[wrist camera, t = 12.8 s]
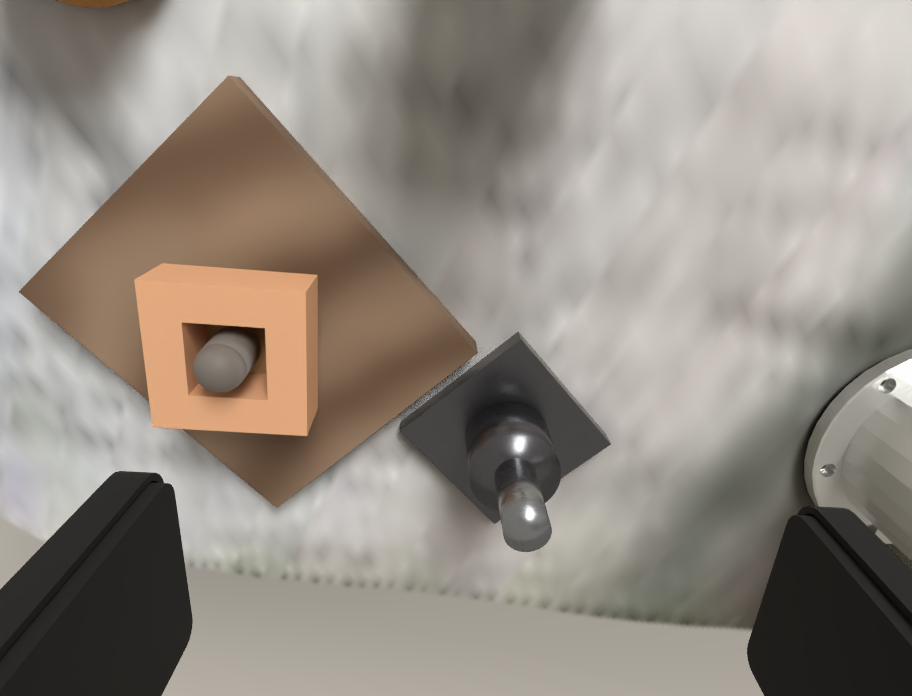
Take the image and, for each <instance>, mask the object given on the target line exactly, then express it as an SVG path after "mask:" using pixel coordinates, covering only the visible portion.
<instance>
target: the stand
mask: <svg viewBox="0 0 912 696" xmlns="http://www.w3.org/2000/svg"><path fill="white" fill-rule="evenodd" d="M400 431H401V432H402V433H403V434H404V435H405V436H406V437H407V438H408V439H409V440H410V441H411V442H412V443H413V444H414V445H415V446H416V447H417V448H418V449H419V450H420V451H421V452H422V453H423V454H424V455H425V456H426V457H427V458H428V459H429V460H430V461H431V462H432V463H433V464H434V465H435V466H436V467H437V468H438V469H439V470H440V471H441V472H442V473H443V474H444V475H445V476H446V477H447V478H448V479H449V480H450V481H451V482H452V483H453V484H455V485H456V486H457V487H458V488H459V489H460V490H461V491H462V492H463V493H464V494H465V495H466V496H467V497H468V498H469V499H470V500H471V501H472V502H473V503H474V504H475V505H476V506H477V507H478V508H479V509H480V510H481V511H482V512H483V513H484V514H485V515H486V516H487V517H488V518H489V519H490V520H491V521H492V522H493V523H494V524H495V523H496V522H498V521H499V520H501V523H502V529H503V535H504V539H505V542H506V543H507V544H508V545H509V546H510V547H511V548H513V549H515V550H517V551H521V552H530V551H535V550H537V549H540V548H541V547H543V546H544V545H545V544H546V543H547V542H548V541H549V539H550V537H551V533H552V528H551V524H550V521H549V517H548V514H547V510H546V506H545V503H546V502H547V501H548V500H549V499H550V498H551V497H552V496H553V494H554V493H555V492H556V490H557V488H558V486H559V483H560V479H561V478H562V477H564V476H565V475H566V474H568V473H569V472H571V471H572V470H574V469H575V468H577V467H578V466H580V465H581V464H583V463H584V462H585V461H587V460H588V459H590V458H591V457H593V456H594V455H596V454H597V453H599V452H600V451H602V450H603V449H604V448H606V447H607V446H609V445H610V444H611V443H610V441H609V439H608V437H607V436H606V434H605V433H604V432H603V430H602V429H601V428H600V427H599V426H598V425H597V423H596V422H595V421H594V420H593V419H592V418H591V416H590V415H589V414H588V413H587V412H586V410H585V409H584V408H583V407H582V406H581V405H580V403H579V402H578V401H577V400H576V399H575V398H574V396H573V395H572V394H571V393H570V392H569V391H568V389H567V388H566V387H565V386H564V385H563V384H562V382H561V381H560V380H559V379H558V378H557V376H556V375H555V374H554V373H553V372H552V371H551V369H550V368H549V367H548V366H547V365H546V364H545V362H544V361H543V360H542V359H541V358H540V357H539V355H538V354H537V353H536V352H535V351H534V350H533V348H532V347H531V346H530V345H529V344H528V343H527V341H526V340H525V339H524V338H523V337H522V335H521V334H520V333H519V332H517V333H516V334H515V335H513V336H512V337H511V338H509V339H508V340H507V341H506V342H504V343H503V344H502V345H500V346H499V347H498V348H496V349H495V350H494V351H493V352H491V353H490V354H489V355H487V356H486V357H485V358H483V359H482V360H481V361H479V362H478V363H477V364H476V365H474V366H473V367H472V368H470V369H469V370H468V371H466V372H465V373H464V374H463V375H461V376H460V377H459V378H457V379H456V380H455V381H453V382H452V383H451V384H450V385H448V386H447V387H446V388H444V389H443V390H442V391H440V392H439V393H438V394H436V395H435V396H434V397H433V398H431V399H430V400H429V401H427V402H426V403H425V404H423V405H422V406H421V407H420V408H418V409H417V410H416V411H414V412H413V413H412V414H410V415H409V416H408V417H407V418H405V419H404V420H403V421H401V428H400Z"/></svg>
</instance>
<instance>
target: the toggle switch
mask: <svg viewBox="0 0 912 696" xmlns="http://www.w3.org/2000/svg"><path fill="white" fill-rule="evenodd" d="M162 263H166V264H180V265H193V266H206V267H220V268H233V269H246V270H260V271H273V272H286V273H300V274H313V275H318V409H317V412H316V414H315V417H314V419H313V422H312V425H311V427H310V430H309V433H308V435H307V436H297V435H279V434H262V433H244V432H227V431H210V430H192V429H183V430H184V431H186V432H187V433H188V434H189V435H190V436H192V437H193V438H194V439H195V440H196V441H198V442H199V443H200V444H201V445H202V446H204V447H205V448H206V449H207V450H208V451H209V452H211V453H212V454H213V455H214V456H215V457H217V458H218V459H219V460H220V461H221V462H223V463H224V464H225V465H226V466H227V467H229V468H230V469H231V470H232V471H233V472H235V473H236V474H237V475H238V476H239V477H241V478H242V479H243V480H244V481H245V482H247V483H248V484H249V485H250V486H251V487H252V488H254V489H255V490H256V491H257V492H258V493H260V494H261V495H262V496H263V497H264V498H266V499H267V500H268V501H269V502H270V503H272V504H273V505H274V506H275V507H276V508H277V507H279V506H280V505H281V504H283V503H284V502H285V501H287V500H288V499H289V498H290V497H292V496H293V495H294V494H296V493H297V492H298V491H299V490H301V489H302V488H303V487H305V486H306V485H307V484H309V483H310V482H311V481H312V480H314V479H315V478H316V477H318V476H319V475H320V474H322V473H323V472H324V471H325V470H327V469H328V468H329V467H331V466H332V465H333V464H334V463H336V462H337V461H338V460H340V459H341V458H342V457H344V456H345V455H346V454H347V453H349V452H350V451H351V450H353V449H354V448H355V447H356V446H358V445H359V444H360V443H362V442H363V441H364V440H366V439H367V438H368V437H369V436H371V435H372V434H373V433H375V432H376V431H377V430H379V429H380V428H381V427H382V426H384V425H385V424H386V423H388V422H389V421H390V420H391V419H393V418H394V417H395V416H397V415H398V414H399V413H401V412H402V411H403V410H404V409H406V408H407V407H408V406H410V405H411V404H412V403H413V402H415V401H416V400H417V399H419V398H420V397H421V396H423V395H424V394H425V393H426V392H428V391H429V390H430V389H432V388H433V387H434V386H435V385H437V384H438V383H439V382H441V381H442V380H443V379H445V378H446V377H447V376H448V375H450V374H451V373H452V372H454V371H455V370H456V369H458V368H459V367H460V366H461V365H463V364H464V363H465V362H467V361H468V360H469V359H470V358H472V357H473V356H474V355H476V354H477V353H478V352H477V347H476V341H475V340H474V339H473V338H472V337H471V336H470V335H469V334H468V332H467V331H466V330H465V329H464V328H463V327H462V326H461V325H460V324H459V322H458V321H457V320H456V319H455V318H454V317H453V316H452V315H451V313H450V312H449V311H448V310H447V309H446V308H445V307H444V306H443V304H442V303H441V302H440V301H439V300H438V299H437V298H436V297H435V295H434V294H433V293H432V292H431V291H430V290H429V289H428V288H427V287H426V285H425V284H424V283H423V282H422V281H421V280H420V279H419V278H418V276H417V275H416V274H415V273H414V272H413V271H412V270H411V269H410V267H409V266H408V265H407V264H406V263H405V262H404V261H403V260H402V258H401V257H400V256H399V255H398V254H397V253H396V252H395V251H394V250H393V248H392V247H391V246H390V245H389V244H388V243H387V242H386V241H385V239H384V238H383V237H382V236H381V235H380V234H379V233H378V232H377V230H376V229H375V228H374V227H373V226H372V225H371V224H370V223H369V221H368V220H367V219H366V218H365V217H364V216H363V215H362V214H361V213H360V211H359V210H358V209H357V208H356V207H355V206H354V205H353V204H352V202H351V201H350V200H349V199H348V198H347V197H346V196H345V195H344V193H343V192H342V191H341V190H340V189H339V188H338V187H337V186H336V184H335V183H334V182H333V181H332V180H331V179H330V178H329V177H328V176H327V174H326V173H325V172H324V171H323V170H322V169H321V168H320V167H319V165H318V164H317V163H316V162H315V161H314V160H313V159H312V158H311V156H310V155H309V154H308V153H307V152H306V151H305V150H304V149H303V147H302V146H301V145H300V144H299V143H298V142H297V141H296V140H295V139H294V137H293V136H292V135H291V134H290V133H289V132H288V131H287V130H286V128H285V127H284V126H283V125H282V124H281V123H280V122H279V121H278V119H277V118H276V117H275V116H274V115H273V114H272V113H271V112H270V110H269V109H268V108H267V107H266V106H265V105H264V104H263V103H262V102H261V100H260V99H259V98H258V97H257V96H256V95H255V94H254V93H253V91H252V90H251V89H250V88H249V87H248V86H247V85H246V84H245V82H244V81H243V80H242V79H241V78H240V77H235V76H228V77H227V78H226V79H225V80H224V81H223V82H222V83H221V84H220V85H219V86H218V87H217V88H216V89H215V90H214V91H213V92H212V93H211V94H210V95H209V96H208V97H207V98H206V99H205V100H204V101H203V102H202V103H201V104H200V105H199V107H198V108H197V109H196V110H195V111H194V112H193V113H192V114H191V115H190V116H189V117H188V118H187V119H186V120H185V121H184V122H183V123H182V124H181V125H180V126H179V127H178V128H177V129H176V130H175V131H174V132H173V133H172V134H171V135H170V136H169V137H168V138H167V139H166V141H165V142H164V143H163V144H162V145H161V146H160V147H159V148H158V149H157V150H156V151H155V152H154V153H153V154H152V155H151V156H150V157H149V158H148V159H147V160H146V161H145V162H144V163H143V164H142V165H141V166H140V167H139V168H138V169H137V170H136V171H135V172H134V173H133V175H132V176H131V177H130V178H129V179H128V180H127V181H126V182H125V183H124V184H123V185H122V186H121V187H120V188H119V189H118V190H117V191H116V192H115V193H114V194H113V195H112V196H111V197H110V198H109V199H108V200H107V201H106V202H105V203H104V204H103V205H102V206H101V207H100V209H99V210H98V211H97V212H96V213H95V214H94V215H93V216H92V217H91V218H90V219H89V220H88V221H87V222H86V223H85V224H84V225H83V226H82V227H81V228H80V229H79V230H78V231H77V232H76V233H75V234H74V235H73V236H72V237H71V238H70V239H69V240H68V241H67V242H66V244H65V245H64V246H63V247H62V248H61V249H60V250H59V251H58V252H57V253H56V254H55V255H54V256H53V257H52V258H51V259H50V260H49V261H48V262H47V263H46V264H45V265H44V266H43V267H42V268H41V269H40V270H39V271H38V272H37V273H36V274H35V275H34V276H33V278H32V279H31V280H30V281H29V282H28V283H27V284H26V285H25V286H24V287H23V288H22V289H21V290H20V291H19V292H20V293H21V294H22V295H23V296H24V297H26V298H27V299H28V300H29V301H30V302H32V303H33V304H34V305H35V306H36V307H38V308H39V309H40V310H41V311H42V312H44V313H45V314H46V315H47V316H48V317H50V318H51V319H52V320H53V321H54V322H55V323H57V324H58V325H59V326H60V327H61V328H63V329H64V330H65V331H66V332H67V333H69V334H70V335H71V336H72V337H73V338H75V339H76V340H77V341H78V342H79V343H81V344H82V345H83V346H84V347H85V348H87V349H88V350H89V351H90V352H91V353H92V354H94V355H95V356H96V357H97V358H98V359H100V360H101V361H102V362H103V363H104V364H106V365H107V366H108V367H109V368H110V369H112V370H113V371H114V372H115V373H116V374H118V375H119V376H120V377H121V378H122V379H124V380H125V381H126V382H127V383H128V384H130V385H131V386H132V387H133V388H134V389H135V390H137V391H138V392H139V393H140V394H141V395H143V396H144V397H145V398H146V399H147V400H149V395H148V387H147V379H146V371H145V363H144V355H143V347H142V339H141V331H140V323H139V315H138V307H137V298H136V290H135V282H134V280H135V279H136V278H138V277H140V276H141V275H143V274H145V273H147V272H148V271H150V270H152V269H153V268H155V267H157V266H159V265H160V264H162ZM206 327H207V340H208V342H207V344H206V345H205V346H204V347H203V348H202V349H201V350H200V351H199V352H198V353H197V355H196V357H195V359H194V363H193V372H194V375H195V378H196V380H197V381H198V383H199V384H200V385H201V386H202V387H204V388H205V389H207V390H209V391H212V392H228V391H230V390H233V389H235V388H236V387H238V386H239V385H240V384H241V383H242V382H243V380H244V379H245V377H246V376H247V375H248V373H262V374H267V369H266V343H265V328H255V327H240V326H226V325H211V324H206Z"/></svg>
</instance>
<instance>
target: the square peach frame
mask: <svg viewBox="0 0 912 696" xmlns="http://www.w3.org/2000/svg"><path fill="white" fill-rule="evenodd" d="M134 282H135V290H136V298H137V307H138V315H139V323H140V331H141V339H142V347H143V355H144V363H145V371H146V379H147V387H148V395H149V403H150V411H151V419H152V427H157V428H175V429H192V430H210V431H227V432H244V433H262V434H279V435H297V436H307V435H308V433H309V430H310V427H311V425H312V422H313V419H314V417H315V414H316V412H317V409H318V275H313V274H300V273H286V272H273V271H260V270H246V269H233V268H220V267H206V266H193V265H180V264H166V263H162V264H160V265H159V266H157V267H155V268H153V269H152V270H150V271H148V272H147V273H145V274H143V275H141V276H140V277H138V278H136V279H135V280H134ZM206 324H211V325H226V326H240V327H255V328H265V343H266V369H267V374H262V373H248V375H247V376H246V377H245V379H244V380H243V382H242V383H241V384H240V385H239V386H238V387H236V388H235V389H233V390H230V391H228V392H212V391H209V390H207V389H205V388H204V387H202V386H201V385H200V384H199V383H198V381H197V380H196V378H195V375H194V372H193V363H194V359H195V357H196V355H197V353H198V352H199V351H200V350H201V349H202V348H203V347H204V346H205V345H206V344H207V342H208V340H207V327H206Z"/></svg>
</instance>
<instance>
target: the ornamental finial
mask: <svg viewBox="0 0 912 696" xmlns="http://www.w3.org/2000/svg"><path fill="white" fill-rule="evenodd" d="M57 1H60V2H63V3H66V4H70V5H74V6H80V7H92V8H98V7H108V6H113V5H118V4H121V3H124V2H126V1H128V0H57Z"/></svg>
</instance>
